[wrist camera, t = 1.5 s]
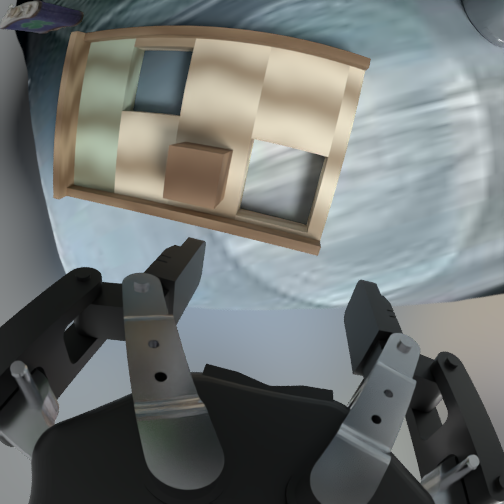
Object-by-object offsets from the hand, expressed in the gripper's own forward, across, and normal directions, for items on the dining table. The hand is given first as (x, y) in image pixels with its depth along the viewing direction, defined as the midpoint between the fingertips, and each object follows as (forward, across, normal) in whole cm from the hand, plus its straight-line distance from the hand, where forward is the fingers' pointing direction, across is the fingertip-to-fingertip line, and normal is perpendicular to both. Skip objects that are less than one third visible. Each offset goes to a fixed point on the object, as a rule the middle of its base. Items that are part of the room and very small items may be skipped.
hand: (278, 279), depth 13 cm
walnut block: (+17, +8, 0) cm, 19 cm away
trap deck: (+20, +11, -5) cm, 23 cm away
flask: (+20, +35, -19) cm, 45 cm away
